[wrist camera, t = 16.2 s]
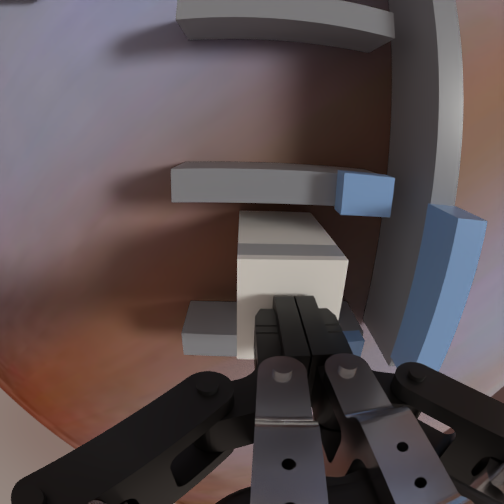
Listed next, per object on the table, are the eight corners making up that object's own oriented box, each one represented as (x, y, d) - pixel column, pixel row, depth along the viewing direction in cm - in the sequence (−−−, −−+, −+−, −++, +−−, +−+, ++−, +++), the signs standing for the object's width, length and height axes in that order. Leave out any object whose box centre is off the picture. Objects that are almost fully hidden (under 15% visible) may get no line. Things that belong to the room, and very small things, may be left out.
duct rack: (201, -81, 10) (186, -150, 3) (401, -54, 11) (453, -101, 4) (192, 322, 20) (172, 407, 13) (383, 320, 20) (428, 392, 13)
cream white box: (239, 210, 17) (237, 258, 11) (310, 212, 18) (348, 260, 11) (238, 283, 19) (237, 359, 12) (303, 283, 19) (330, 357, 13)
